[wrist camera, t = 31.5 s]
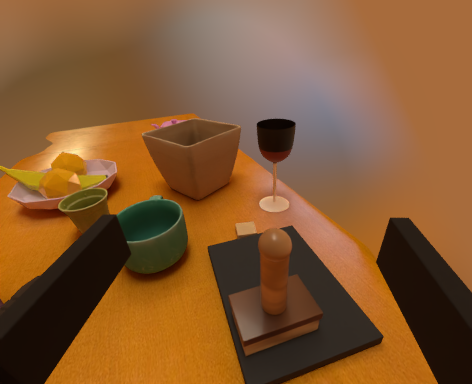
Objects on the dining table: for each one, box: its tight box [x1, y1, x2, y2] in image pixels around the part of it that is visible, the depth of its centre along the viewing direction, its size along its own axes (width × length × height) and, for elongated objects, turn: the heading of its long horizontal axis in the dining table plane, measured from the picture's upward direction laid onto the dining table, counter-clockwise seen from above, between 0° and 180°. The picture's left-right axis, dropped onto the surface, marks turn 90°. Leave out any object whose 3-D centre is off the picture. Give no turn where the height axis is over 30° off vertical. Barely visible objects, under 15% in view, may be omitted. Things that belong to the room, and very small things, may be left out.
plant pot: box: [58, 188, 110, 234], centre depth 53 cm, size 9×9×9 cm
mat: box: [208, 226, 384, 384], centre depth 38 cm, size 24×18×2 cm
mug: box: [117, 195, 188, 274], centre depth 46 cm, size 17×13×10 cm
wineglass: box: [257, 119, 295, 212], centre depth 55 cm, size 8×9×20 cm
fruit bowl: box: [0, 152, 117, 209], centre depth 69 cm, size 28×27×11 cm
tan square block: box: [235, 221, 257, 239], centre depth 51 cm, size 4×4×2 cm
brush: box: [228, 228, 323, 356], centre depth 29 cm, size 10×6×16 cm, turn 107°
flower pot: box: [142, 118, 241, 200], centre depth 67 cm, size 19×19×17 cm
